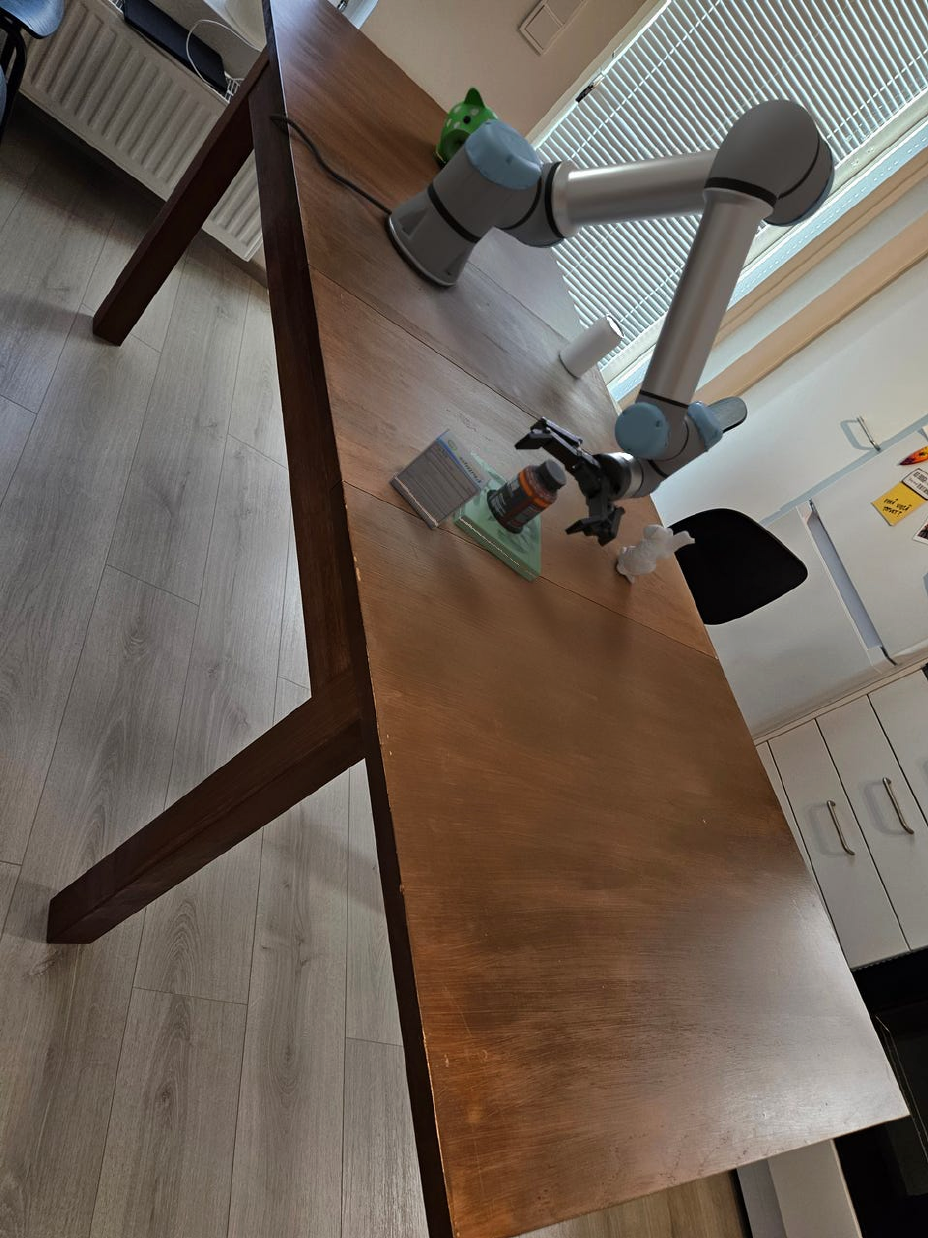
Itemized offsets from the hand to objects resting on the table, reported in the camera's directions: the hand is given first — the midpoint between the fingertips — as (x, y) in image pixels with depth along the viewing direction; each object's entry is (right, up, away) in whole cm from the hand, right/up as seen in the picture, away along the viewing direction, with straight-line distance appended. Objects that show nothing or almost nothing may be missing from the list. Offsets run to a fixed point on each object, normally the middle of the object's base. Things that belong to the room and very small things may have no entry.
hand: (547, 483), depth 107 cm
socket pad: (-7, -4, +2) cm, 9 cm away
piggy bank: (-14, +78, +64) cm, 102 cm away
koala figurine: (+15, -10, +25) cm, 30 cm away
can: (+10, +34, +56) cm, 66 cm away
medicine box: (-17, -4, -9) cm, 20 cm away
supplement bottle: (-7, -5, +2) cm, 9 cm away
